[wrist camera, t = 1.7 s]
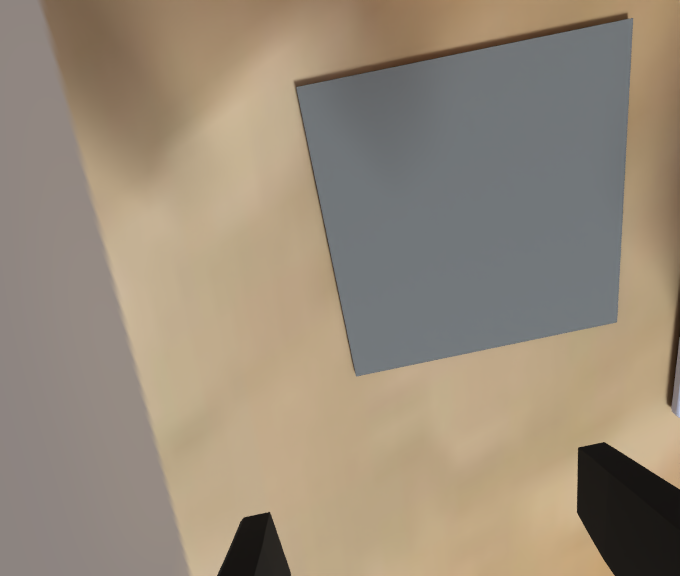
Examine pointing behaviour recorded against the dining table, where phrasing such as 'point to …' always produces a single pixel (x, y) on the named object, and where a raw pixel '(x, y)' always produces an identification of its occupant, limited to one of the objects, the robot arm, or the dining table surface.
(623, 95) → the slate mat
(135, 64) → the dining table surface
